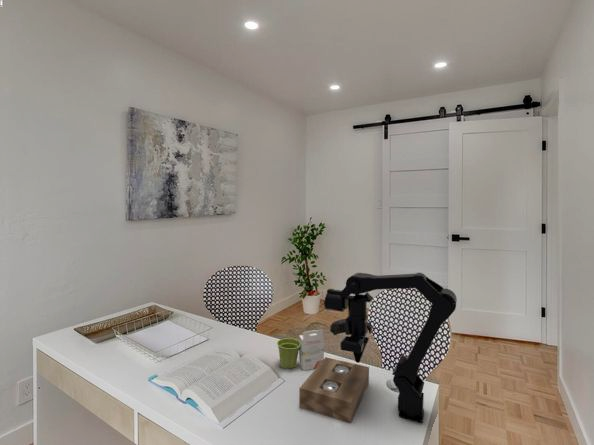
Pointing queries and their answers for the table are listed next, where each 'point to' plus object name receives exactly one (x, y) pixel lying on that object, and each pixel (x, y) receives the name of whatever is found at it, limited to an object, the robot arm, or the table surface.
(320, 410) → the walnut block
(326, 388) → the peg near
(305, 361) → the ink cartridge box
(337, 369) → the peg far
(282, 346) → the plant pot
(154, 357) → the table surface
